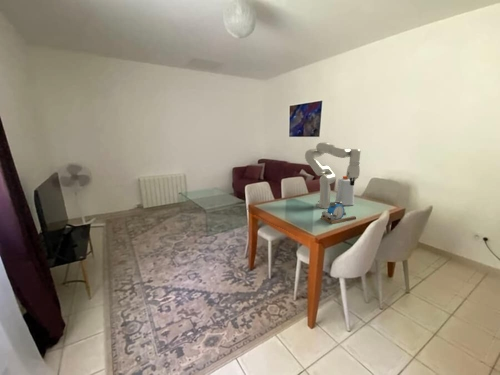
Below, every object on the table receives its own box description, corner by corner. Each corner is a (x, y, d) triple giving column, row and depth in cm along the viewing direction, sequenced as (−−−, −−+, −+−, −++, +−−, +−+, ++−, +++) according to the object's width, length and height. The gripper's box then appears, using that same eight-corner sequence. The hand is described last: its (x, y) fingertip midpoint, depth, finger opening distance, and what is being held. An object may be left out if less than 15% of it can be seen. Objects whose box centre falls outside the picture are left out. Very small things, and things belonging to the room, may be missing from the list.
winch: (319, 218, 186) (320, 209, 184) (324, 217, 188) (325, 209, 186) (333, 225, 172) (333, 215, 170) (338, 224, 174) (338, 214, 172)
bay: (323, 218, 188) (323, 215, 187) (344, 214, 195) (344, 212, 195) (334, 223, 176) (334, 221, 175) (355, 219, 183) (356, 216, 183)
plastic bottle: (355, 205, 217) (357, 177, 211) (339, 206, 218) (341, 177, 211) (348, 201, 232) (350, 174, 226) (334, 201, 232) (335, 175, 226)
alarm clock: (331, 221, 179) (332, 204, 176) (326, 219, 185) (327, 202, 181) (344, 219, 184) (345, 201, 181) (338, 216, 190) (339, 199, 186)
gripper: (357, 163, 193) (355, 183, 197) (343, 163, 188) (341, 185, 193) (364, 164, 186) (362, 185, 190) (350, 165, 181) (348, 186, 186)
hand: (352, 185), depth 192 cm, fingers closed
